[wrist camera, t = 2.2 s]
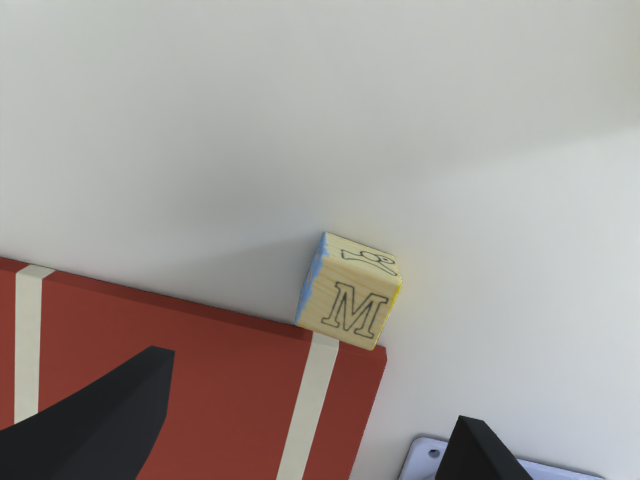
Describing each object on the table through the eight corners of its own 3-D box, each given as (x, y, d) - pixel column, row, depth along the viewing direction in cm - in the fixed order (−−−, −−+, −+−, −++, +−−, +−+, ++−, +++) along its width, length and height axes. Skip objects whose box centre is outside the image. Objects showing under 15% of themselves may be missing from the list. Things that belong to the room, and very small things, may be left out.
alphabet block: (324, 227, 19) (320, 254, 16) (396, 253, 19) (404, 284, 16) (300, 291, 20) (291, 327, 17) (368, 315, 20) (371, 355, 17)
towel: (386, 346, 20) (387, 359, 19) (328, 526, 24) (327, 545, 23) (-17, 251, 20) (-37, 260, 19) (-14, 448, 24) (-30, 464, 23)
